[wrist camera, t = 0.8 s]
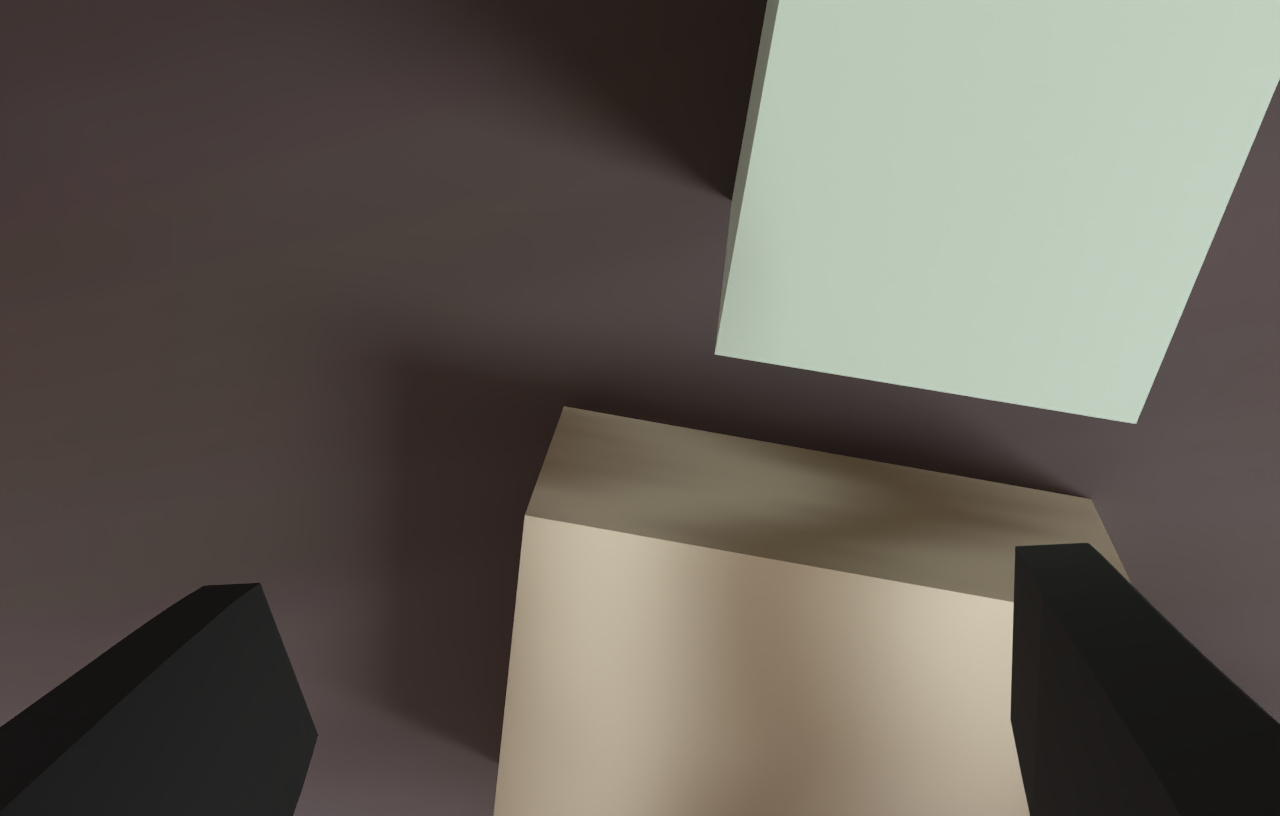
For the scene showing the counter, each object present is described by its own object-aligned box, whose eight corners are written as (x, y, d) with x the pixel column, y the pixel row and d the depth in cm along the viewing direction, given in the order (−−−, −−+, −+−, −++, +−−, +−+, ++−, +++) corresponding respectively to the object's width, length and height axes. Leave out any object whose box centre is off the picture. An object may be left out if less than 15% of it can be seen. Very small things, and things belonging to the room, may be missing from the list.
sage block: (1134, -79, 15) (1325, -31, 10) (1028, 247, 18) (1135, 424, 12) (790, -131, 15) (799, -109, 10) (732, 200, 18) (713, 354, 13)
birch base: (1085, 488, 20) (1151, 626, 17) (940, 839, 25) (968, 1003, 21) (567, 397, 20) (524, 514, 17) (523, 762, 25) (483, 912, 22)
